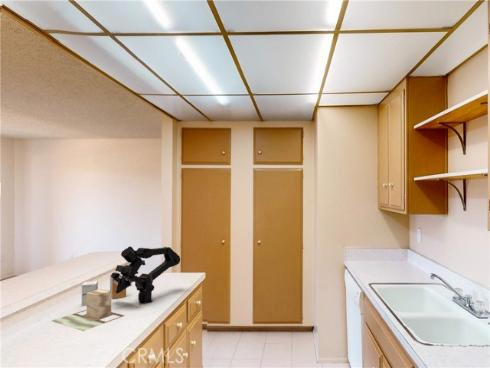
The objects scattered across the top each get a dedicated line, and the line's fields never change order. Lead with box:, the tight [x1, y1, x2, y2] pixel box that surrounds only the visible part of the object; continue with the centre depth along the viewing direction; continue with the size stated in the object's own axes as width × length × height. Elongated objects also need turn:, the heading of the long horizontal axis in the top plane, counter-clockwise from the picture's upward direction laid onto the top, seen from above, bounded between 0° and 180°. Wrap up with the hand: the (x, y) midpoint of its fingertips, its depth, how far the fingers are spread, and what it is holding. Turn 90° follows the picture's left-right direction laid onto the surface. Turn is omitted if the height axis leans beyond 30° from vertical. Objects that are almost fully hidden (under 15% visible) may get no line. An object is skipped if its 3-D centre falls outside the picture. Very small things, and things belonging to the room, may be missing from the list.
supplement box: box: [81, 280, 99, 307], centre depth 187 cm, size 7×7×13 cm
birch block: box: [86, 288, 112, 319], centre depth 169 cm, size 8×8×11 cm
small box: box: [109, 273, 127, 300], centre depth 204 cm, size 8×6×13 cm
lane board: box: [51, 309, 126, 332], centre depth 164 cm, size 22×25×2 cm
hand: (116, 293), depth 177 cm, fingers closed
